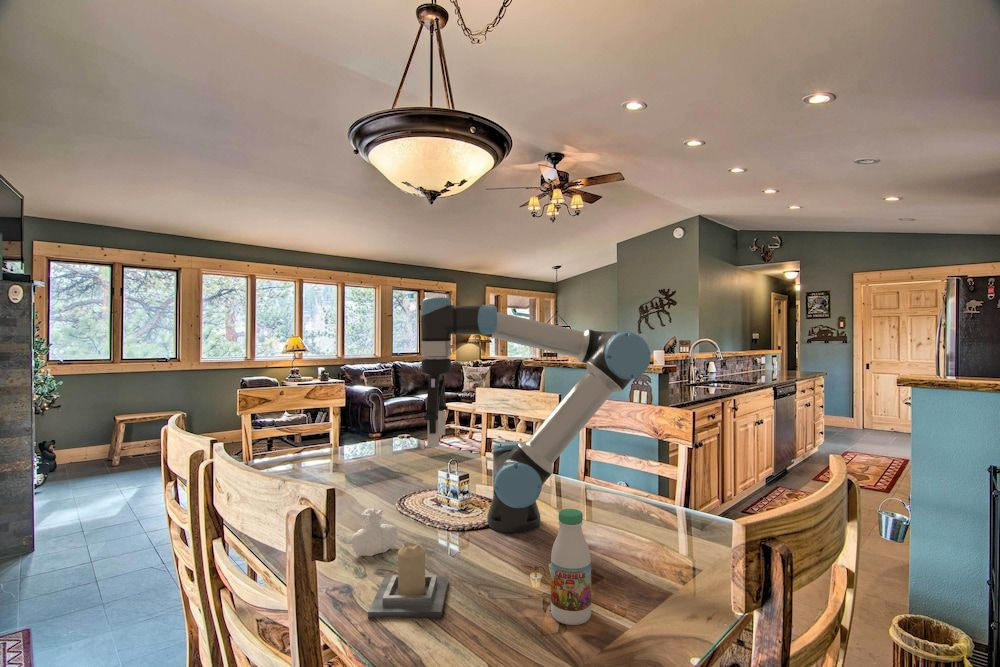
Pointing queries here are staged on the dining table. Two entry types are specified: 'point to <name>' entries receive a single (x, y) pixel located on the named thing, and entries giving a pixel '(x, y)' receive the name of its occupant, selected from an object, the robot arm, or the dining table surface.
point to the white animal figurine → (373, 535)
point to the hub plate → (409, 600)
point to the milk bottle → (570, 571)
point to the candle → (411, 570)
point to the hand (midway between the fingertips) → (436, 440)
